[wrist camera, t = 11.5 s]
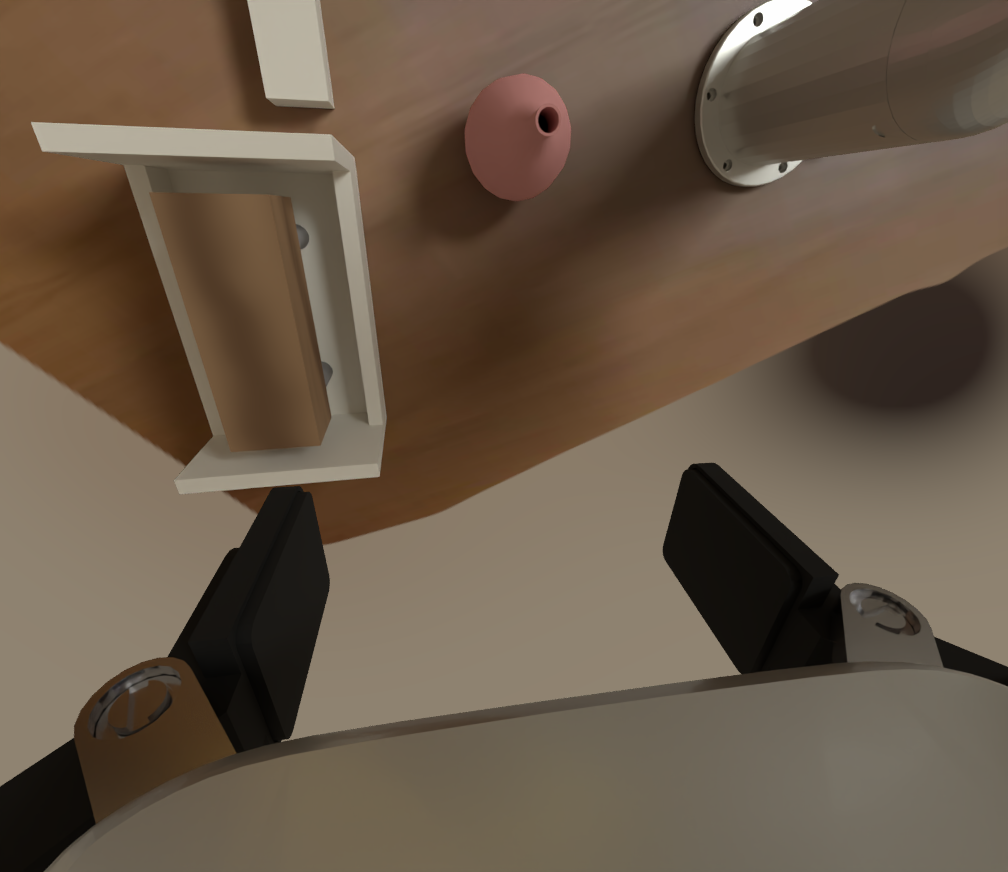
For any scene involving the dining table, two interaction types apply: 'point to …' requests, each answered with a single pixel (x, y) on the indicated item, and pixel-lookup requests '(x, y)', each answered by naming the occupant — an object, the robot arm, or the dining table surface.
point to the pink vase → (517, 136)
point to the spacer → (292, 52)
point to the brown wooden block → (249, 314)
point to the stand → (327, 265)
